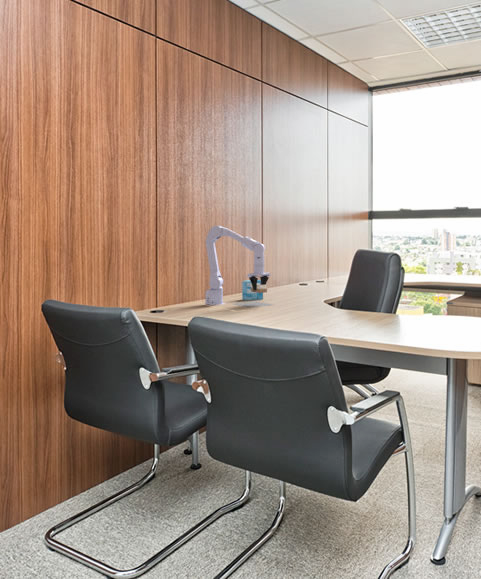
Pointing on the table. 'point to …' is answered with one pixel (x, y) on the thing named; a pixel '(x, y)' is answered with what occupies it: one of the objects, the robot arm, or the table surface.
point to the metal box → (259, 288)
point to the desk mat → (252, 304)
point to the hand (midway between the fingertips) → (258, 289)
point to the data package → (247, 291)
